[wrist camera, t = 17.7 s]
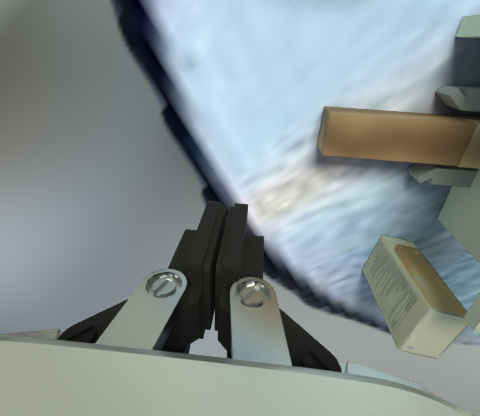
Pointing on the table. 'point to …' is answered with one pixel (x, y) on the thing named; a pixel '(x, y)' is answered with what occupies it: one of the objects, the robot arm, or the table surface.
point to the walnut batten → (400, 136)
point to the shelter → (459, 175)
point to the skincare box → (413, 298)
